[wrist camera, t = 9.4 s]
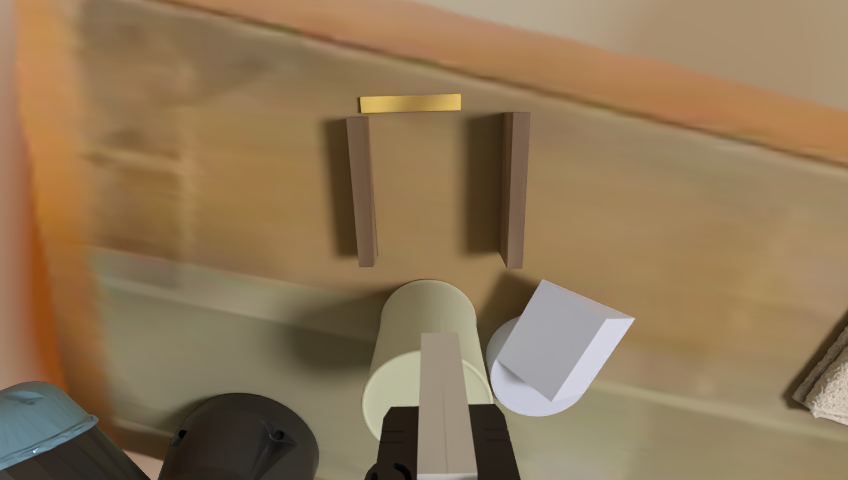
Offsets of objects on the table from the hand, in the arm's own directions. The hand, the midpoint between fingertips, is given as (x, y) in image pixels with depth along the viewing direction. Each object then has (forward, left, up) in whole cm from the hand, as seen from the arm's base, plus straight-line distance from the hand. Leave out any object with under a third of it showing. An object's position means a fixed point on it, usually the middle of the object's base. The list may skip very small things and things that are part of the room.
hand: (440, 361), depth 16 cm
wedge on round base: (+10, -11, -20) cm, 25 cm away
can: (-1, -9, -20) cm, 22 cm away
